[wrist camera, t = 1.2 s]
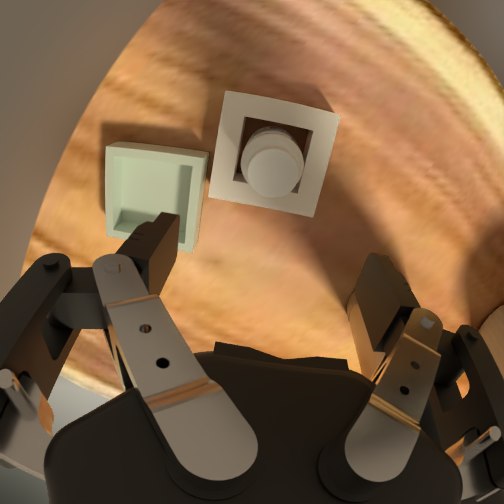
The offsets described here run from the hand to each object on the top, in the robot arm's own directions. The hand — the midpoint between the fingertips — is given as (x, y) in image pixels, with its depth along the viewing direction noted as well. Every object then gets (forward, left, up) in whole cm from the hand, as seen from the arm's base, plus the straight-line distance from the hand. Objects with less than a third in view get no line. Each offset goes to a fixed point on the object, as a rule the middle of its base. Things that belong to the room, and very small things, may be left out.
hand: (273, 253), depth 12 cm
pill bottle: (0, 0, -22) cm, 22 cm away
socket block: (0, 0, -22) cm, 22 cm away
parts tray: (+12, +7, -22) cm, 26 cm away
